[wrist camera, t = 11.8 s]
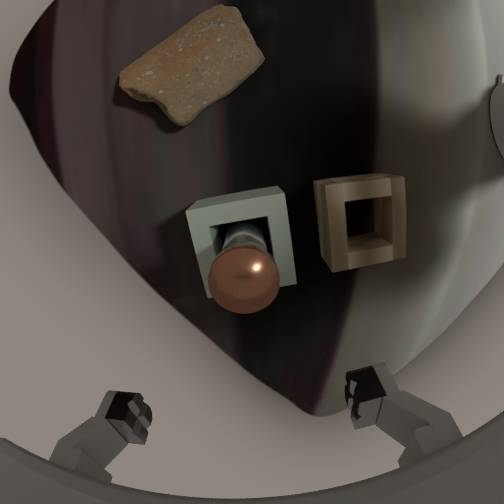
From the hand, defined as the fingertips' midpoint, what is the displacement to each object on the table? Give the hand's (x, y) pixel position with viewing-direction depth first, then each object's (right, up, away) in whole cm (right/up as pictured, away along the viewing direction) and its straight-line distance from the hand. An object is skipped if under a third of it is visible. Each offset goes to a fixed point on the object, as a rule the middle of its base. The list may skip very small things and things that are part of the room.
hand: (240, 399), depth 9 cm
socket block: (0, +8, +22) cm, 23 cm away
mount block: (+12, +10, +21) cm, 26 cm away
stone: (-6, +26, +16) cm, 31 cm away
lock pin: (0, +8, +22) cm, 23 cm away
